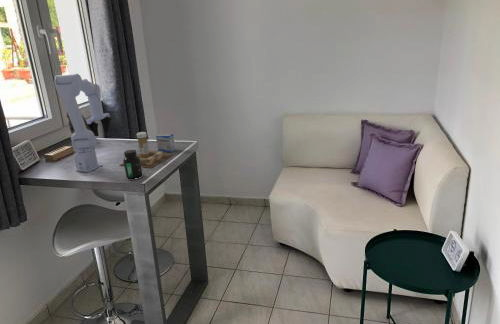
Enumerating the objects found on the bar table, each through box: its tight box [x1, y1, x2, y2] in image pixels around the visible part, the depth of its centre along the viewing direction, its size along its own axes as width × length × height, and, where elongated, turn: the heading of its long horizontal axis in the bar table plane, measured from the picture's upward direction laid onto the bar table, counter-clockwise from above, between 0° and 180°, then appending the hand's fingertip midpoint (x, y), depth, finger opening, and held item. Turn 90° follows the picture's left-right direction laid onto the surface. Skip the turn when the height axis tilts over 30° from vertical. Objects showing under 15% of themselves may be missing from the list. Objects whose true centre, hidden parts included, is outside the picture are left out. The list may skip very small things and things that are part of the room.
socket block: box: [119, 150, 173, 169], centre depth 192 cm, size 18×18×3 cm
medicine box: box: [155, 133, 176, 153], centre depth 203 cm, size 8×4×9 cm, turn 76°
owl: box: [66, 111, 92, 135], centre depth 225 cm, size 13×13×20 cm
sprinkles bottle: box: [136, 131, 150, 158], centre depth 190 cm, size 5×5×14 cm
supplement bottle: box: [122, 149, 144, 180], centre depth 170 cm, size 7×7×12 cm
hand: (101, 133), depth 205 cm, fingers open, 7 cm apart
